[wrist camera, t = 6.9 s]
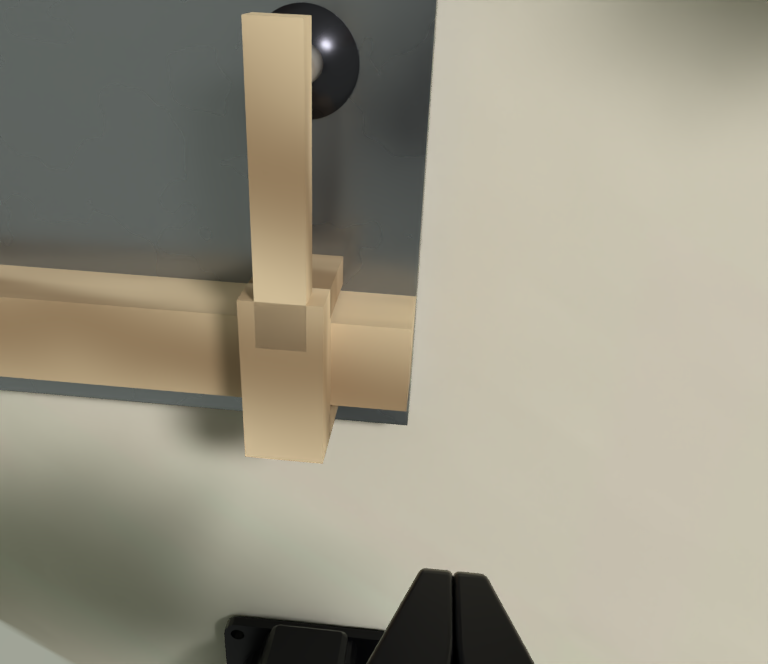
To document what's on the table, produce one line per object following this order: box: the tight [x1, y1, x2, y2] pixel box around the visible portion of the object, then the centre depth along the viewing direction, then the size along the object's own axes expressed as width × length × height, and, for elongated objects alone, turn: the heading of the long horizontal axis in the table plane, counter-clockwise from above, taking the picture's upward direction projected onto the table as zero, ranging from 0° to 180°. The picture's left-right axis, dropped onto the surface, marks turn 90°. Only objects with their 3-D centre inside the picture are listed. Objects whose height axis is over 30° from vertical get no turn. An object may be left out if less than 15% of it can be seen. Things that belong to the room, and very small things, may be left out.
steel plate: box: [0, 0, 438, 425], centre depth 19 cm, size 16×22×1 cm
